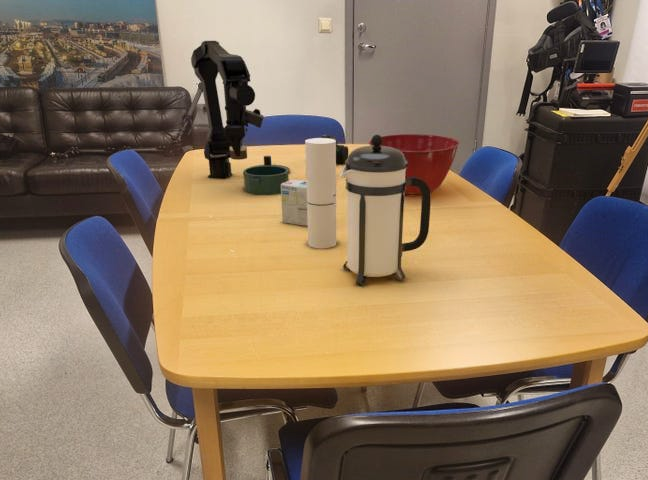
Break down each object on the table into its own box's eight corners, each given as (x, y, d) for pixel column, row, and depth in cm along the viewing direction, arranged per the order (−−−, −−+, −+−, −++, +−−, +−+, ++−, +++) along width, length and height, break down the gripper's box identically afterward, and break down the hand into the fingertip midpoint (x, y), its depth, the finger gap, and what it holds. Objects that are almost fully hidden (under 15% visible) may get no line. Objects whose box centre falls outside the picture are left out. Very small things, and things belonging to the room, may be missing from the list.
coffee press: (390, 294, 131) (396, 145, 116) (327, 278, 139) (325, 136, 124) (427, 268, 144) (436, 131, 129) (367, 255, 151) (370, 124, 137)
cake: (227, 159, 198) (226, 144, 196) (234, 155, 202) (233, 141, 200) (243, 160, 197) (242, 145, 194) (250, 156, 201) (249, 142, 199)
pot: (234, 195, 198) (232, 176, 196) (257, 180, 215) (256, 162, 212) (277, 198, 195) (276, 179, 193) (297, 183, 212) (296, 165, 209)
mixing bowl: (355, 196, 198) (355, 145, 190) (385, 176, 221) (386, 130, 213) (442, 206, 189) (446, 153, 181) (464, 184, 212) (468, 136, 204)
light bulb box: (327, 221, 175) (326, 182, 170) (315, 228, 170) (314, 188, 164) (293, 216, 179) (292, 178, 174) (281, 222, 174) (279, 183, 168)
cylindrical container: (340, 241, 161) (340, 139, 148) (330, 249, 155) (329, 144, 142) (314, 237, 163) (312, 137, 150) (303, 246, 157) (300, 142, 144)
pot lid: (239, 175, 221) (238, 159, 218) (256, 166, 234) (255, 150, 231) (281, 178, 217) (280, 162, 215) (295, 169, 230) (294, 153, 228)
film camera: (347, 168, 232) (348, 140, 227) (314, 168, 232) (313, 140, 227) (348, 158, 247) (348, 131, 242) (317, 157, 247) (316, 131, 242)
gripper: (259, 105, 184) (263, 160, 191) (262, 97, 200) (265, 148, 208) (221, 106, 183) (226, 161, 191) (227, 98, 199) (231, 148, 207)
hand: (238, 154), depth 199 cm, fingers closed on cake, 5 cm apart
